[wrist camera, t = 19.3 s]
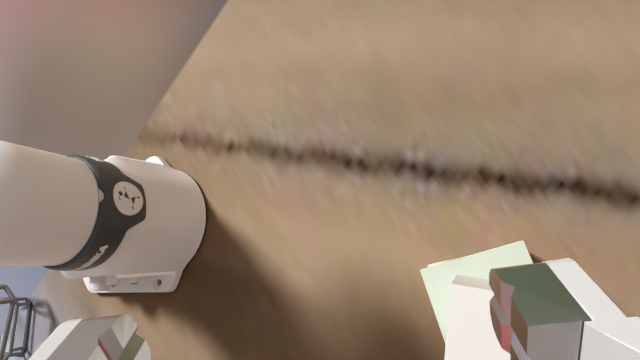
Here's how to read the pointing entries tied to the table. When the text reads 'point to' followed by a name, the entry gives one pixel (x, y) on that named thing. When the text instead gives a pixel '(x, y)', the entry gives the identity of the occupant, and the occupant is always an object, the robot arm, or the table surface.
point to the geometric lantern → (12, 300)
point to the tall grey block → (471, 322)
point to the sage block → (468, 274)
